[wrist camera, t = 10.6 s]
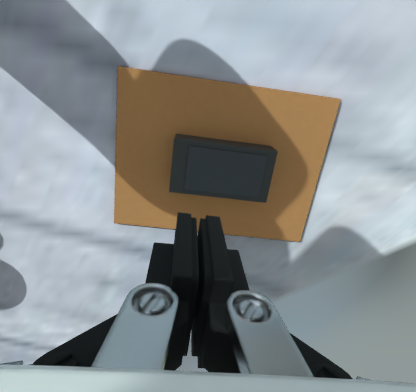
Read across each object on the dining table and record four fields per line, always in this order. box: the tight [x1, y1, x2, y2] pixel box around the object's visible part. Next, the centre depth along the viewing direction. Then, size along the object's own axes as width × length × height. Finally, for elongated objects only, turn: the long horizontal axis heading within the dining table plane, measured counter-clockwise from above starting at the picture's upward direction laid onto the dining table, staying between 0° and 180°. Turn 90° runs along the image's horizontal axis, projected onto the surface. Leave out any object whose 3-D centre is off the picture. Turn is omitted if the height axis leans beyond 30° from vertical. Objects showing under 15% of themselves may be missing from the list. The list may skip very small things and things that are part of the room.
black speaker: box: [169, 134, 278, 203], centre depth 33 cm, size 3×6×11 cm
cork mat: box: [114, 66, 341, 242], centre depth 34 cm, size 24×18×1 cm
